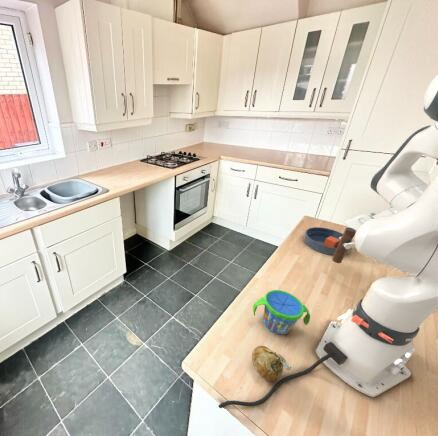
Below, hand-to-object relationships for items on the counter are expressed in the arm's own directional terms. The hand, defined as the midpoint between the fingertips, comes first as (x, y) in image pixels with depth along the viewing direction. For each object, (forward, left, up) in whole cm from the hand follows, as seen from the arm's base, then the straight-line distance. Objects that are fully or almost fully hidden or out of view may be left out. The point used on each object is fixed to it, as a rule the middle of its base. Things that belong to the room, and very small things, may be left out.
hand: (342, 243), depth 89 cm
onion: (-53, -10, -15) cm, 57 cm away
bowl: (+21, +12, -15) cm, 28 cm away
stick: (0, 0, -8) cm, 8 cm away
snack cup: (-38, -3, -15) cm, 41 cm away
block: (+21, +10, -15) cm, 27 cm away
